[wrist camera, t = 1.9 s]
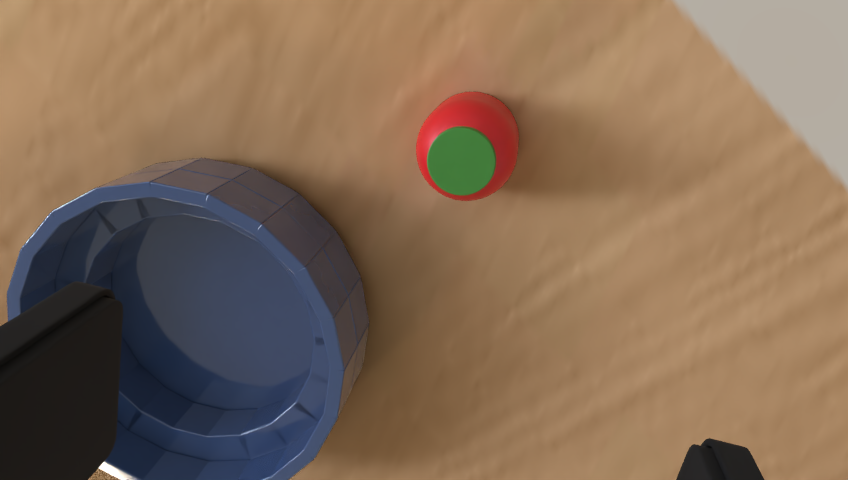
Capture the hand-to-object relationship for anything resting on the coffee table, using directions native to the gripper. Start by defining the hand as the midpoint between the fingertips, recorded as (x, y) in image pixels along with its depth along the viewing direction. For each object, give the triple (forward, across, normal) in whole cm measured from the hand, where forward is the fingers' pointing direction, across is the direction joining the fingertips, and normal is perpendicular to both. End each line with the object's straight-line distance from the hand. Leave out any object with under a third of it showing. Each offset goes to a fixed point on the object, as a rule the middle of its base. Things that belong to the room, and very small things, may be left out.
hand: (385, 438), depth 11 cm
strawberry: (+19, 0, -1) cm, 19 cm away
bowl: (+19, +10, +9) cm, 23 cm away
